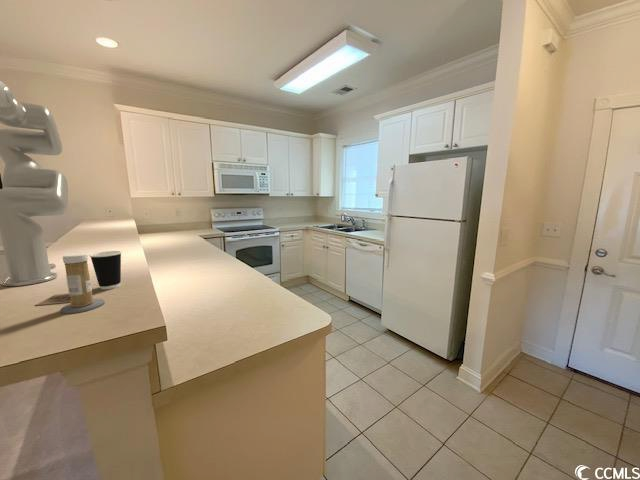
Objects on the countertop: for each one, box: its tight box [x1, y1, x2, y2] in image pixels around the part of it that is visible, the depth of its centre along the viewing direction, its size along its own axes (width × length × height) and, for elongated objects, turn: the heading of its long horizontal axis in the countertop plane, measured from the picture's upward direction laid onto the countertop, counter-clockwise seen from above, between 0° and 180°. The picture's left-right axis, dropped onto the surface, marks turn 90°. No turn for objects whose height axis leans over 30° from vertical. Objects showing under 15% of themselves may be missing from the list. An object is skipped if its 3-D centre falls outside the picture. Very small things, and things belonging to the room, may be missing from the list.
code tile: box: [34, 293, 71, 307], centre depth 73 cm, size 8×8×1 cm
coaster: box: [60, 298, 105, 315], centre depth 68 cm, size 8×8×1 cm
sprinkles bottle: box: [62, 252, 94, 307], centre depth 67 cm, size 5×5×14 cm
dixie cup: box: [89, 250, 123, 290], centre depth 82 cm, size 8×8×11 cm
